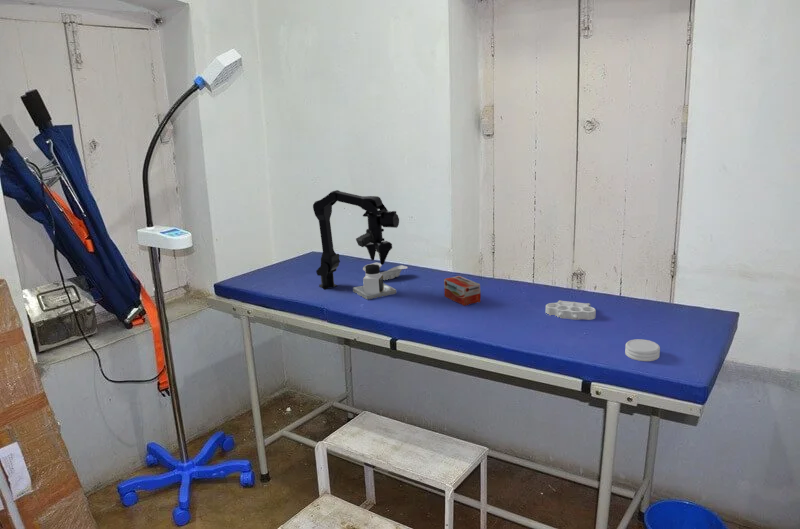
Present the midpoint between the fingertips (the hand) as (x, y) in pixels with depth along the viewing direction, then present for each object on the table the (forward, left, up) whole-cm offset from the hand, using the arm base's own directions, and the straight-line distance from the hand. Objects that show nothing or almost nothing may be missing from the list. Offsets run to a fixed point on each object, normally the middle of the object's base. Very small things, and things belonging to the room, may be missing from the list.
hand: (377, 262), depth 253 cm
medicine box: (+30, +23, -14) cm, 40 cm away
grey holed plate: (+68, +46, -14) cm, 83 cm away
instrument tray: (0, -2, -13) cm, 13 cm away
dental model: (-19, +11, -14) cm, 26 cm away
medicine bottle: (0, -2, -13) cm, 13 cm away
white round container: (+107, +37, -14) cm, 114 cm away
